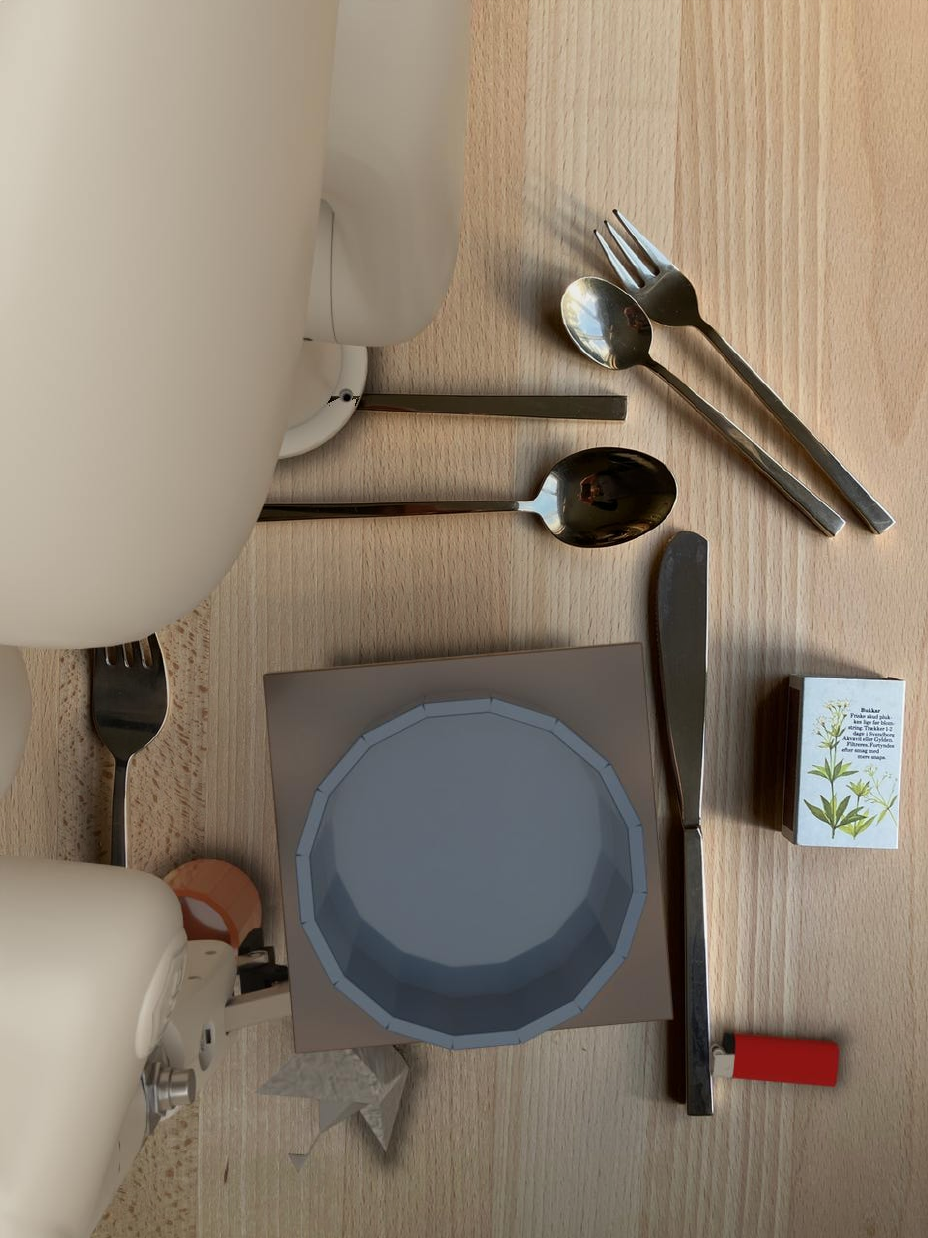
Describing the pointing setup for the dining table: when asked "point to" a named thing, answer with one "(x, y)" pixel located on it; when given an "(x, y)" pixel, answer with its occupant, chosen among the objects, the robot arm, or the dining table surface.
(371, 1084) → the grey origami bird
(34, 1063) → the robot arm
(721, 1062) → the lighter
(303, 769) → the stand
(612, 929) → the bowl
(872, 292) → the dining table surface
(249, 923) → the cup
